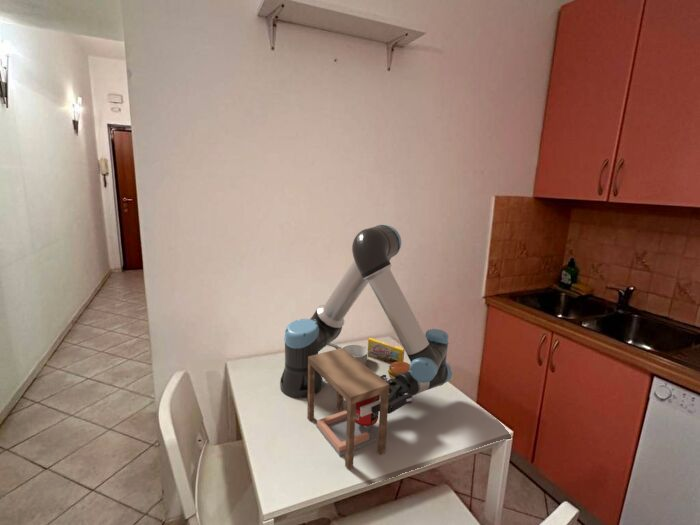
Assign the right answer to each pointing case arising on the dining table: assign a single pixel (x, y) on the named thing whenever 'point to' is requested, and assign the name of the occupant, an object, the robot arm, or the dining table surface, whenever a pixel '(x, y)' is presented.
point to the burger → (398, 369)
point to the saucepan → (355, 351)
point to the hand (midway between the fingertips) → (352, 403)
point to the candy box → (385, 351)
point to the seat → (343, 432)
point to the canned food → (369, 418)
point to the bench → (349, 391)
